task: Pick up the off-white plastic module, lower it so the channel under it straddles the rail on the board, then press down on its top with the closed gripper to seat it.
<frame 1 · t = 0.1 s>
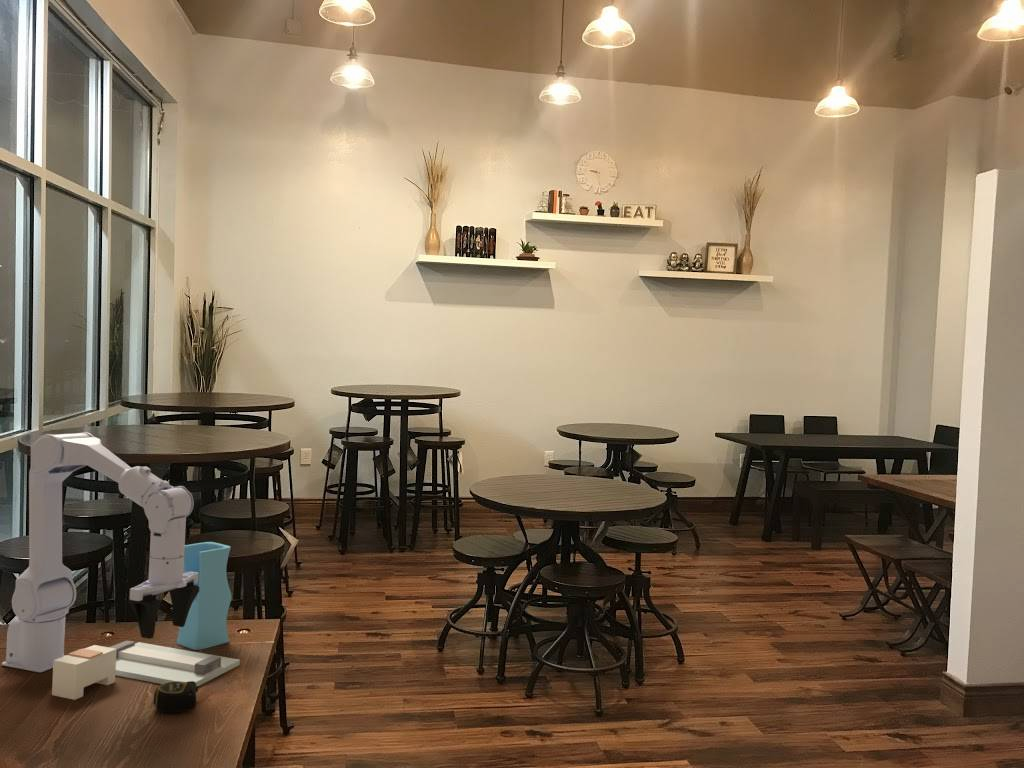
hand: (163, 631, 148), 10 cm above the table, fingers open, 7 cm apart
module: (84, 688, 146), on the table
vase: (201, 642, 173), on the table
tape measure: (179, 709, 140), on the table
rail board: (163, 667, 158), on the table
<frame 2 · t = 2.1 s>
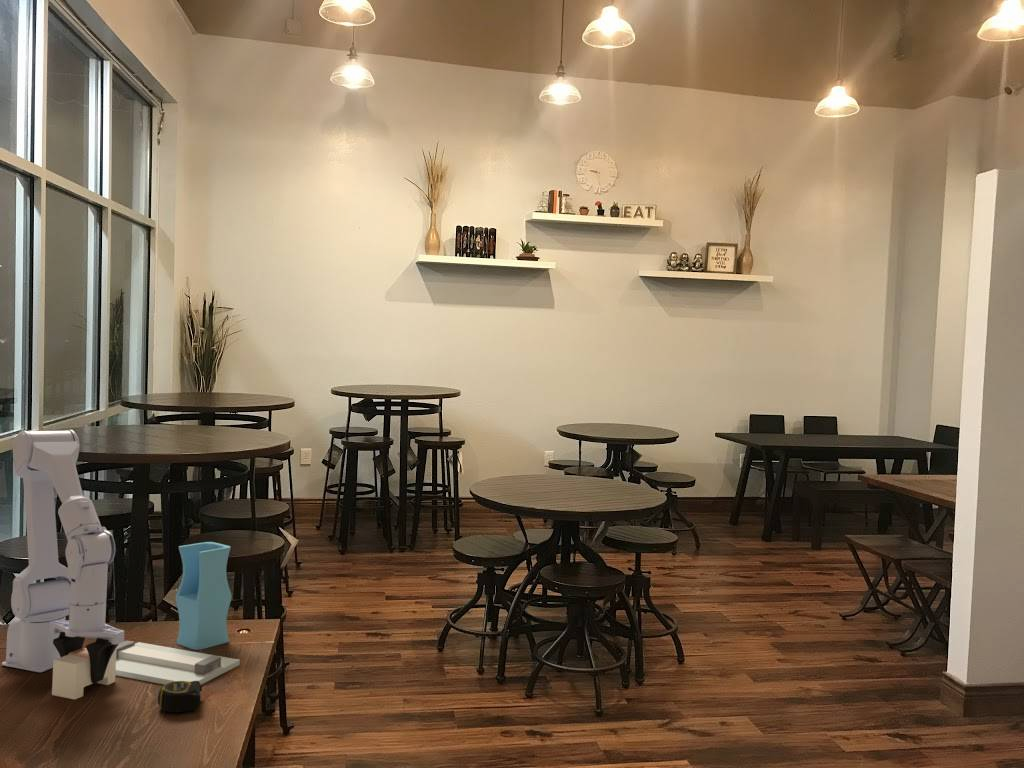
hand: (84, 678, 146), 2 cm above the table, fingers closed on module, 5 cm apart
module: (84, 688, 146), on the table, touching gripper
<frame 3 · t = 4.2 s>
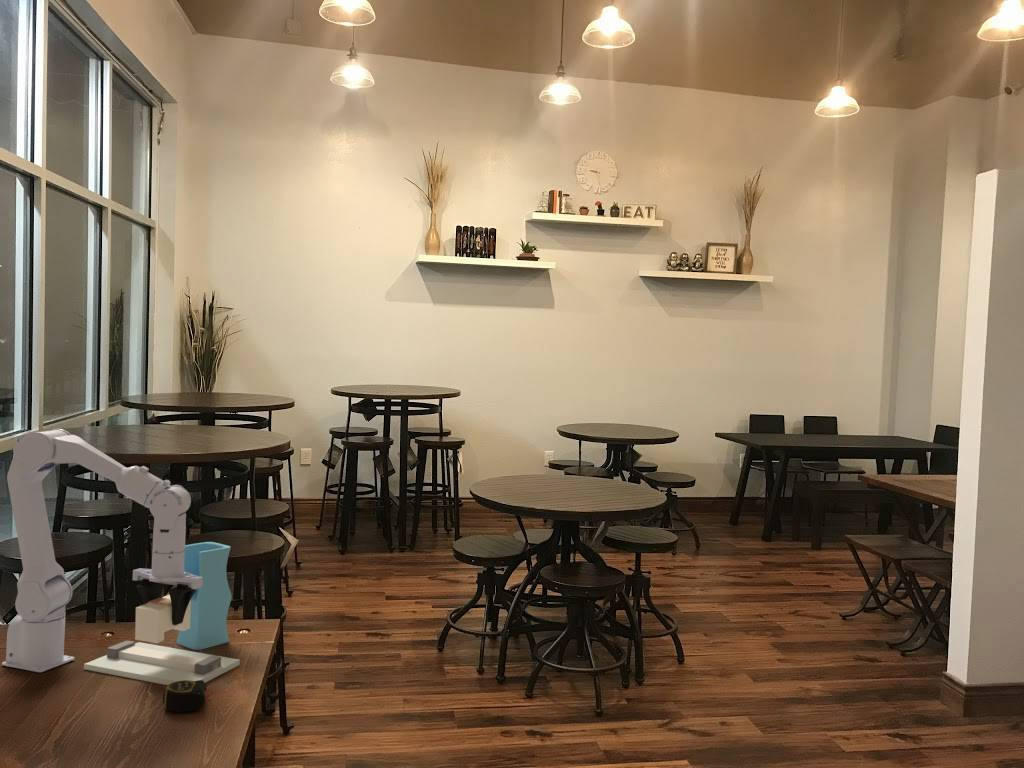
hand: (165, 621, 157), 9 cm above the table, fingers closed on module, 5 cm apart
module: (163, 633, 157), point 6 cm above the table, touching gripper
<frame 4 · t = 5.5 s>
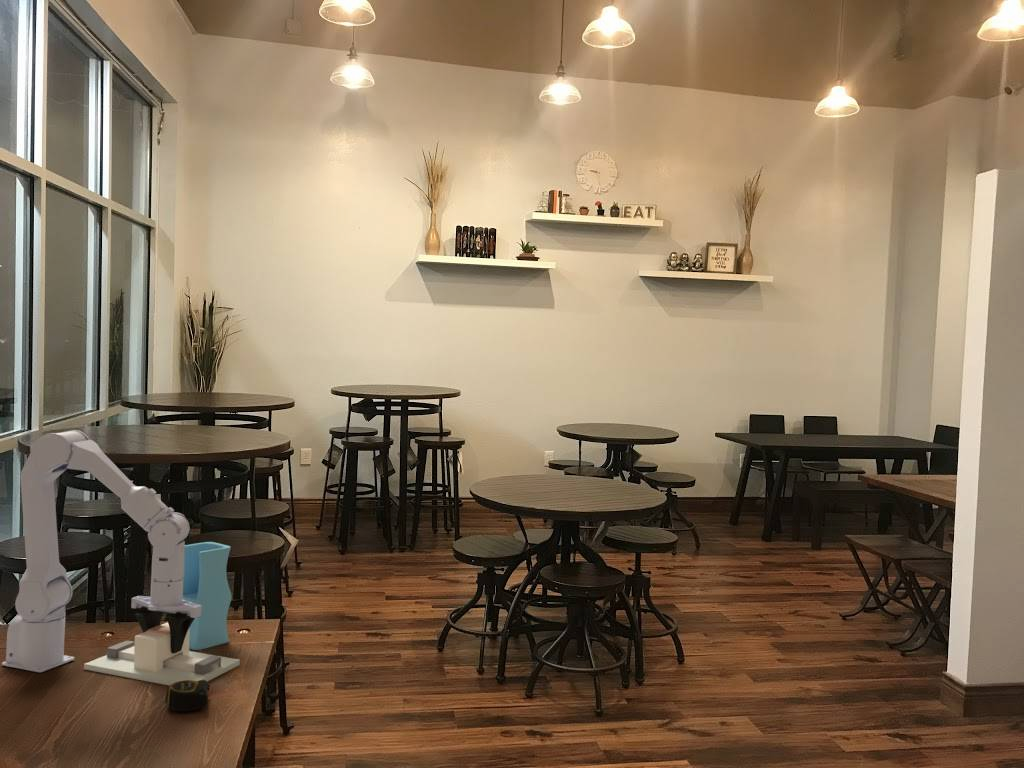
hand: (164, 649, 158), 3 cm above the table, fingers closed on module, 5 cm apart
module: (162, 661, 157), point 1 cm above the table, touching gripper, rail board
when the fingers open (3 cm above the table, at t = 6.3 s): module stays where it is, resting on rail board.
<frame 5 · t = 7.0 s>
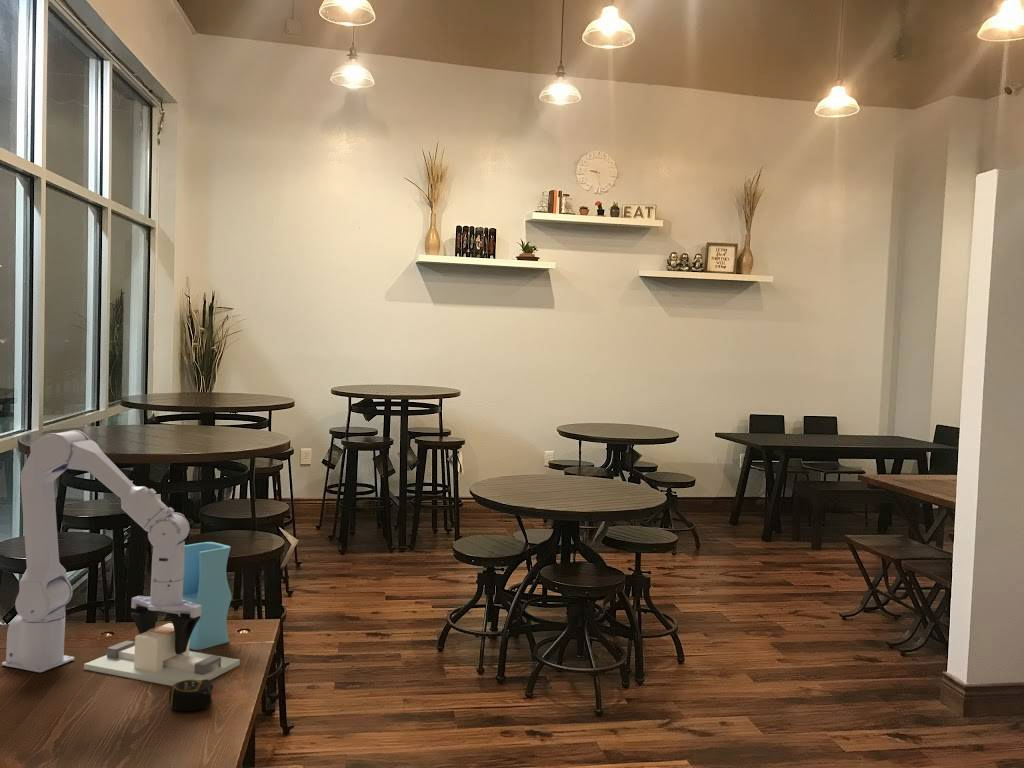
hand: (164, 649, 158), 3 cm above the table, fingers open, 7 cm apart
module: (162, 662, 157), point 1 cm above the table, touching rail board
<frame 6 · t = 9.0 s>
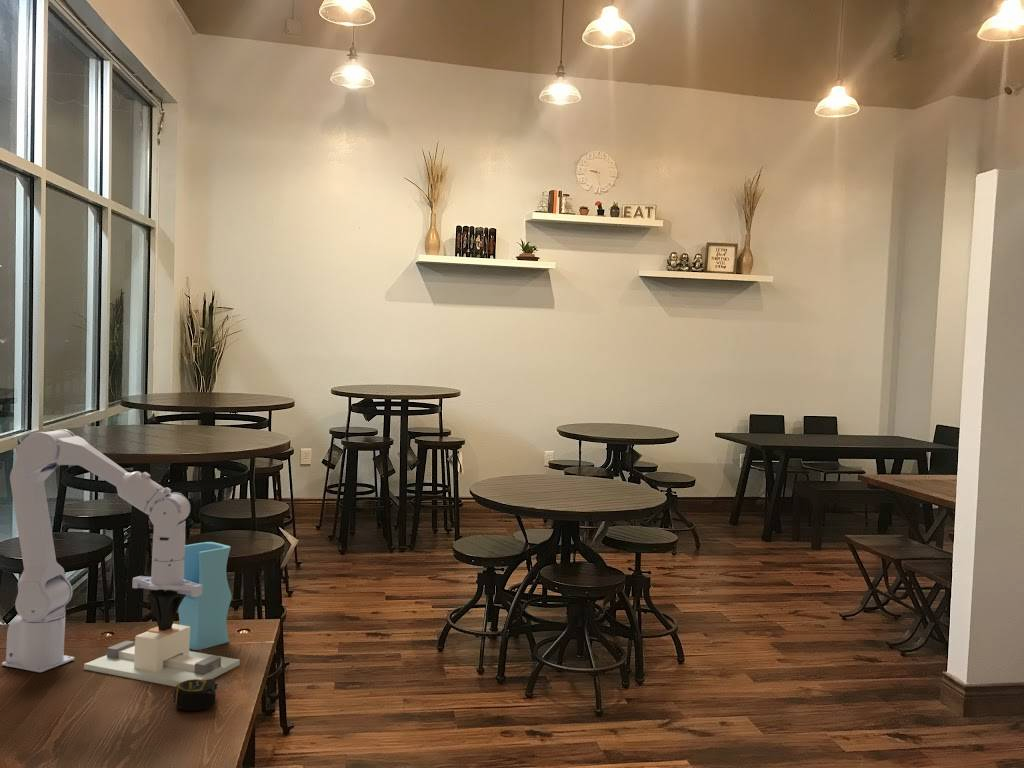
hand: (165, 629, 157), 7 cm above the table, fingers closed, pressing on module
module: (162, 662, 157), point 1 cm above the table, touching gripper, rail board
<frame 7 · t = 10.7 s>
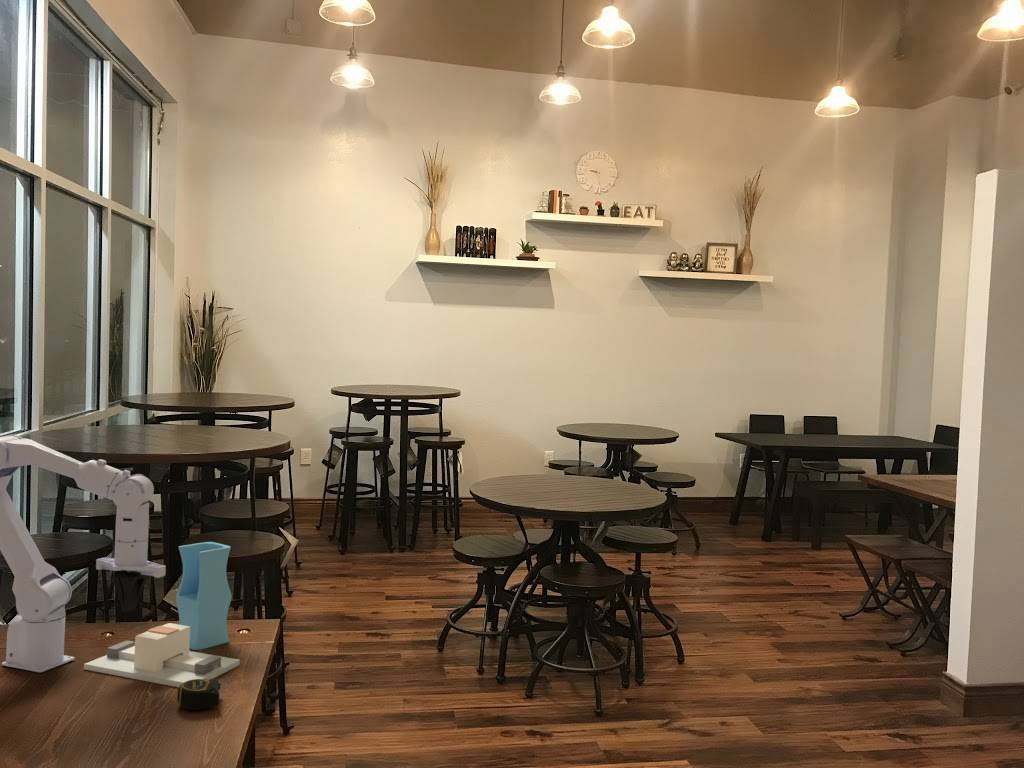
hand: (128, 610, 158), 10 cm above the table, fingers closed
module: (162, 662, 157), point 1 cm above the table, touching rail board
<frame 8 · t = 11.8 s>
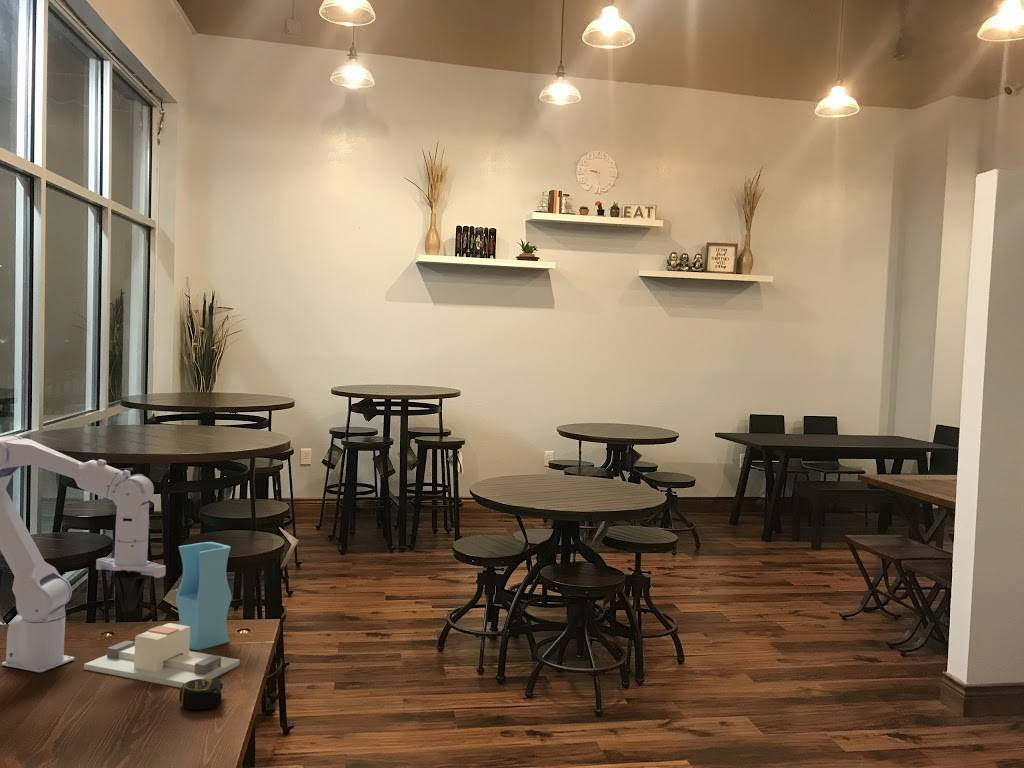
hand: (128, 610, 158), 10 cm above the table, fingers closed
at the end: module inside the target area on the rail board (0.4 cm from its centre), point 1.0 cm above the rail board's base; module tilted 0°; the gripper is holding nothing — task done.
